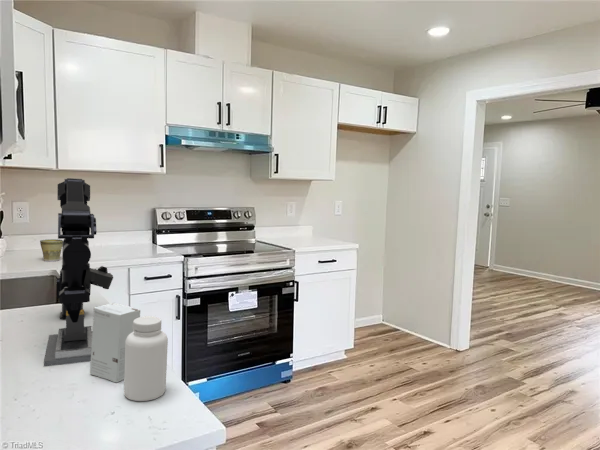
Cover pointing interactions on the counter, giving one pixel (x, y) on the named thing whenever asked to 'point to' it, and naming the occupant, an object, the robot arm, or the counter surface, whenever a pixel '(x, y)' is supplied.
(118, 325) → the skincare box
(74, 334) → the breaker handle
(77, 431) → the counter surface
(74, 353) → the grey shallow rectangular piece
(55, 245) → the ceramic cup
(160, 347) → the pill bottle
